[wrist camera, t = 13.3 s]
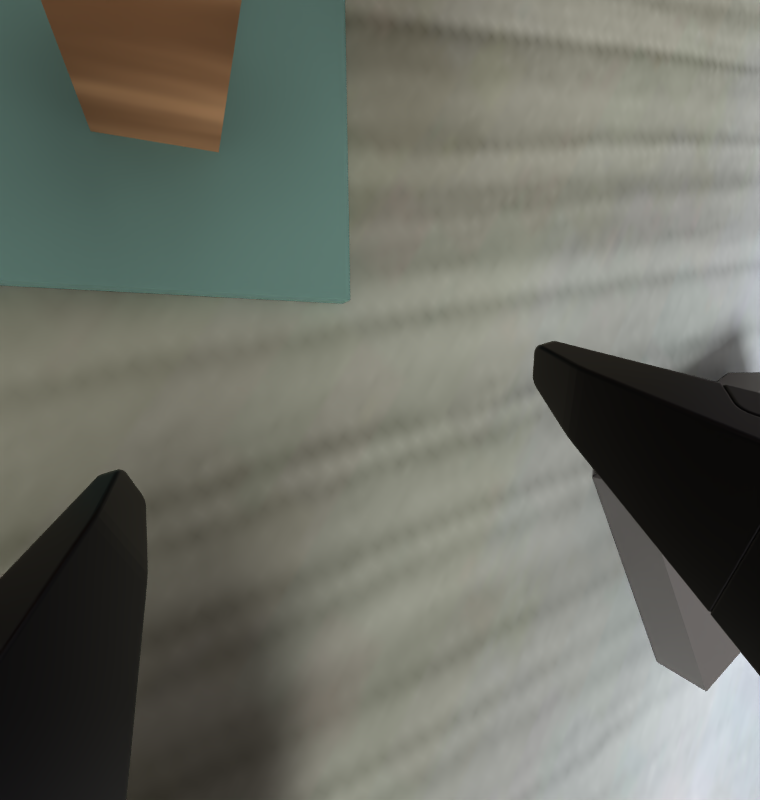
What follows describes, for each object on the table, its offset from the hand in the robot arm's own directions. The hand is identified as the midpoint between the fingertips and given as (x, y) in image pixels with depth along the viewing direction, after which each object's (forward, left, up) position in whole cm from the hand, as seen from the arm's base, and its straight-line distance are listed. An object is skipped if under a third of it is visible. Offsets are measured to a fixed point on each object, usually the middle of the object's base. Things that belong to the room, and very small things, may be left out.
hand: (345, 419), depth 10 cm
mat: (+7, +9, -10) cm, 15 cm away
